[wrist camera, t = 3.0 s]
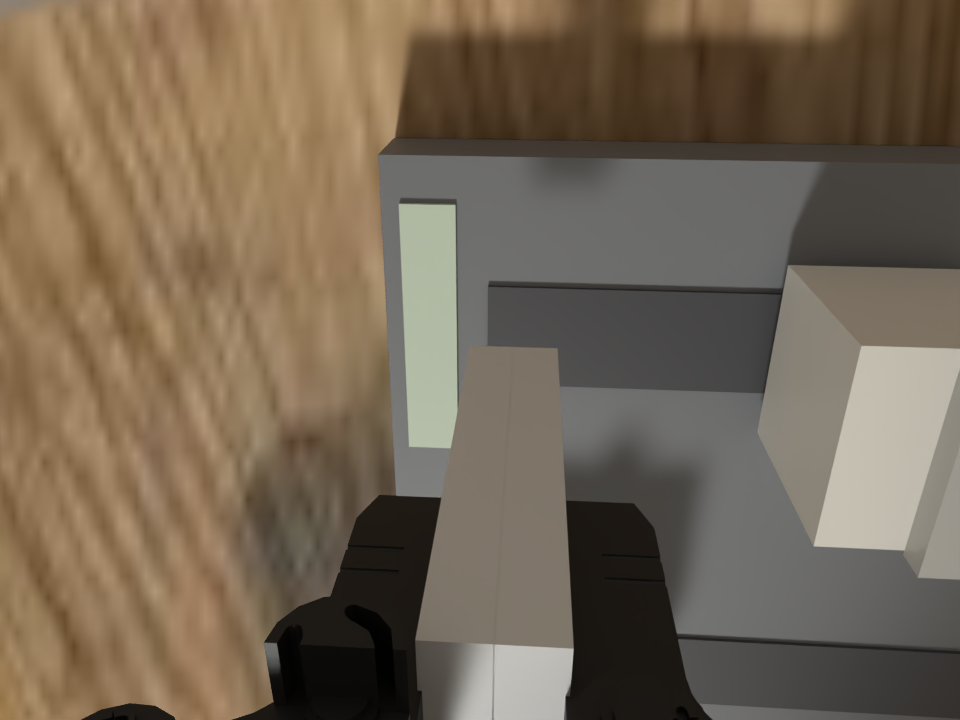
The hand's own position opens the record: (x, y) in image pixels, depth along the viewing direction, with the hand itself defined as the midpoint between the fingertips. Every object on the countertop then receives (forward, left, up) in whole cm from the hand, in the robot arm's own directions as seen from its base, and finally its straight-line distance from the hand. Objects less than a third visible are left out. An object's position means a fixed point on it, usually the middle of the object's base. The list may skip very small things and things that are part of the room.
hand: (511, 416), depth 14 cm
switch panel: (-5, -8, -6) cm, 11 cm away
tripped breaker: (0, -8, -4) cm, 8 cm away
